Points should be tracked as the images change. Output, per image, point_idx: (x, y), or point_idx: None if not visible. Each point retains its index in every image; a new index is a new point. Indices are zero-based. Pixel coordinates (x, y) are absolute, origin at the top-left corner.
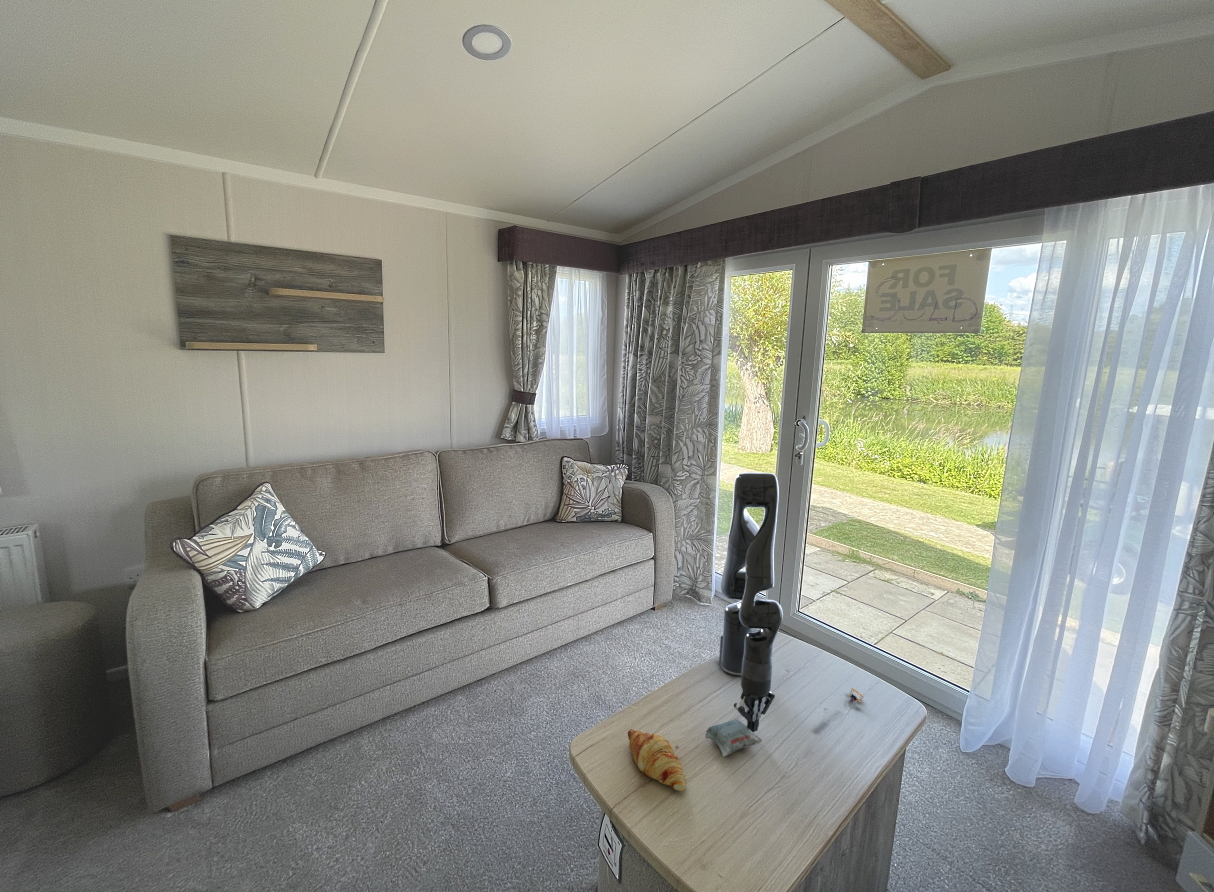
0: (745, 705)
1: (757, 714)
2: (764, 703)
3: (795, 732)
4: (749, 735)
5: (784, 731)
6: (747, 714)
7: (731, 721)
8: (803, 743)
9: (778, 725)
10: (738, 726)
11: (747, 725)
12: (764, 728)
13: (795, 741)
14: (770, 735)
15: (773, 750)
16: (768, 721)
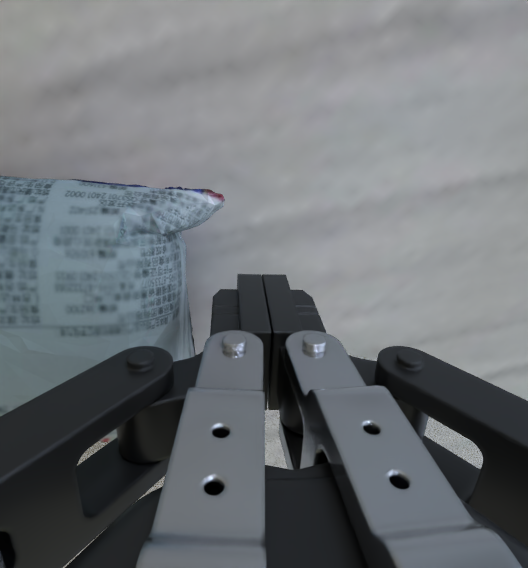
0: (184, 419)
1: (286, 460)
2: (474, 501)
3: (516, 384)
4: (107, 439)
5: (473, 351)
6: (80, 541)
7: (16, 268)
8: (465, 455)
9: (496, 295)
10: (35, 374)
11: (212, 306)
12: (390, 271)
13: (444, 430)
14: (365, 338)
15: (272, 430)
16: (481, 231)
